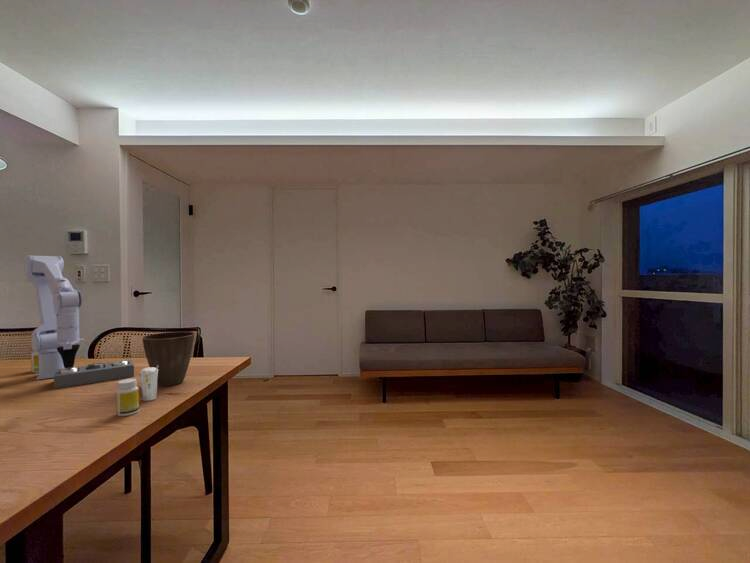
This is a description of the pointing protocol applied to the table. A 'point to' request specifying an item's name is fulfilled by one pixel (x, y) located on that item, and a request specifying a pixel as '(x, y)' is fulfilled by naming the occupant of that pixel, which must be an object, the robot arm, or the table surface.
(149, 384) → the milkshake
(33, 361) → the supplement bottle
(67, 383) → the control panel
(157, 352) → the plant pot
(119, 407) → the supplement bottle
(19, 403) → the table surface
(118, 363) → the knob
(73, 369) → the knob
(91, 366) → the knob middle
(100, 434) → the table surface
